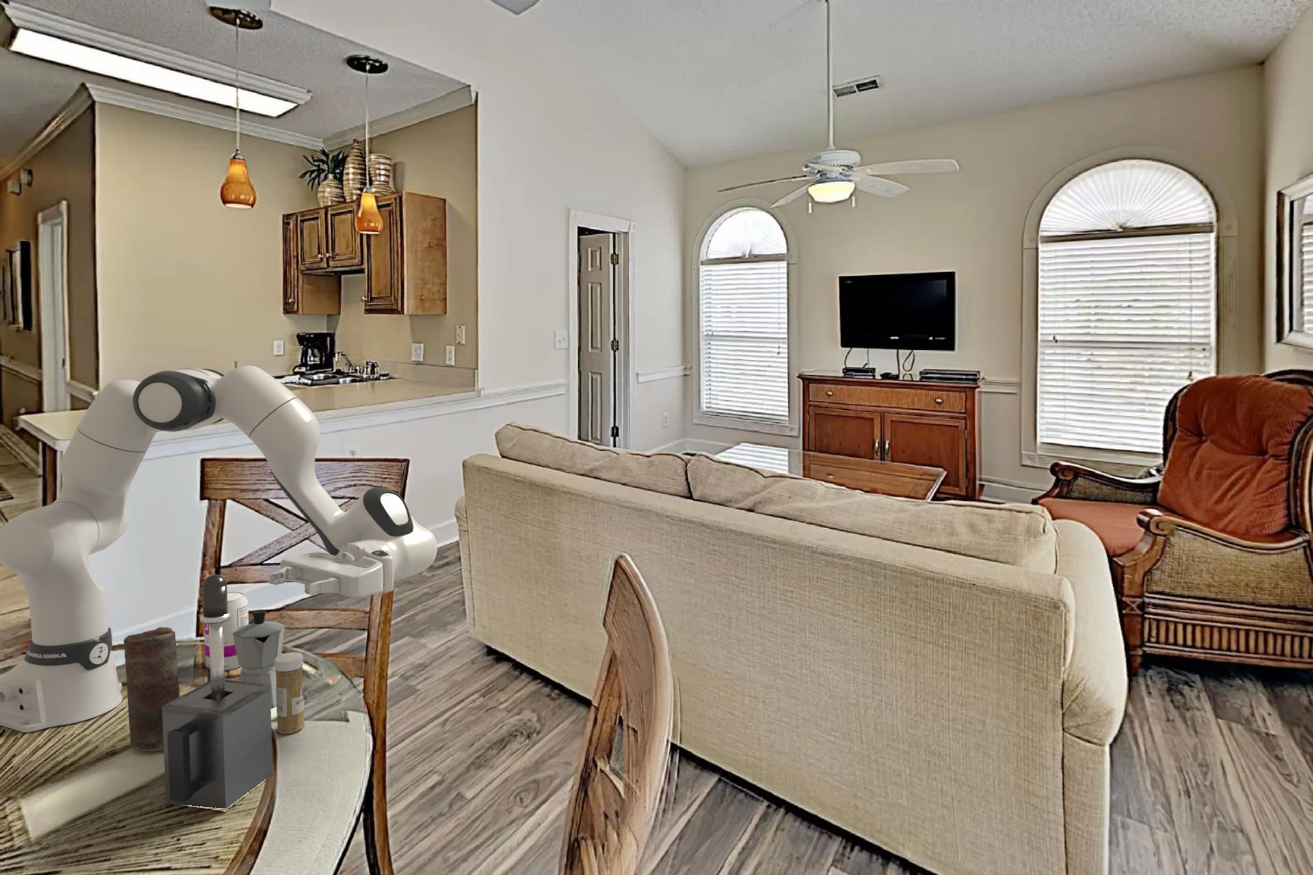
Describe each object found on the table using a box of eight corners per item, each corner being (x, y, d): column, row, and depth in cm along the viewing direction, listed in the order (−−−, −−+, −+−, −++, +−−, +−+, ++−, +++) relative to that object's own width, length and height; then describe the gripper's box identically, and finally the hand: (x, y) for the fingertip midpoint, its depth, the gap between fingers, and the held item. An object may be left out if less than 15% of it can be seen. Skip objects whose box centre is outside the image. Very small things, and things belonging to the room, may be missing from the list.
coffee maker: (291, 709, 140) (289, 616, 138) (238, 720, 135) (235, 624, 133) (280, 680, 152) (278, 595, 151) (230, 690, 147) (228, 601, 146)
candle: (125, 760, 121) (119, 642, 119) (132, 740, 127) (127, 627, 125) (180, 750, 124) (176, 635, 122) (185, 731, 131) (181, 621, 129)
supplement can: (218, 675, 154) (216, 605, 152) (197, 666, 158) (195, 597, 157) (257, 662, 161) (255, 595, 159) (236, 654, 165) (234, 588, 164)
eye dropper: (176, 725, 110) (171, 580, 107) (215, 702, 117) (211, 566, 115) (222, 730, 108) (217, 584, 106) (258, 707, 116) (254, 570, 114)
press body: (147, 816, 107) (143, 716, 105) (216, 767, 119) (213, 678, 118) (209, 825, 105) (205, 724, 103) (272, 775, 118) (270, 684, 116)
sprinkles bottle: (306, 730, 132) (305, 658, 131) (278, 737, 130) (276, 663, 128) (302, 720, 136) (301, 649, 135) (274, 726, 133) (272, 654, 132)
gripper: (322, 540, 138) (250, 556, 126) (399, 557, 128) (328, 575, 116) (323, 573, 139) (251, 592, 127) (399, 592, 128) (329, 615, 117)
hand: (288, 584), depth 121 cm, fingers open, 8 cm apart
